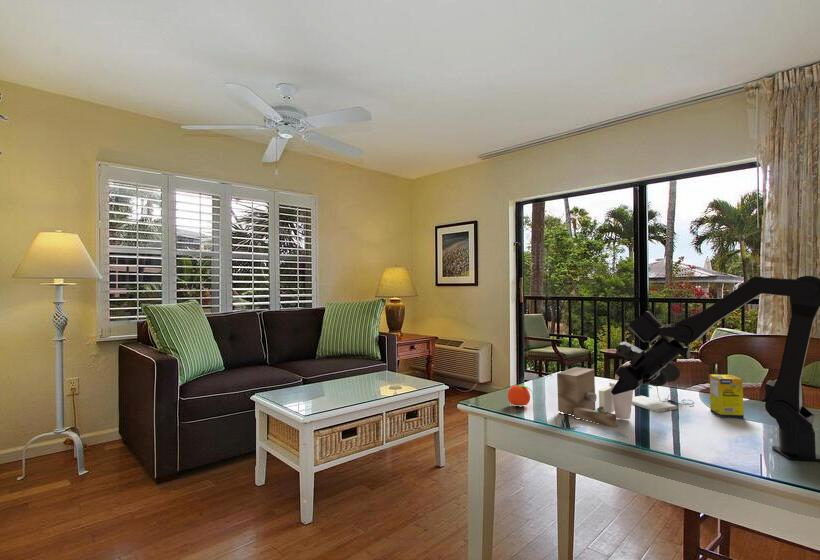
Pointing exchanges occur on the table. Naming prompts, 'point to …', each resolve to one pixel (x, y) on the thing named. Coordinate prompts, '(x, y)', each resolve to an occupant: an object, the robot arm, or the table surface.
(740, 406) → the supplement box
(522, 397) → the clementine
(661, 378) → the headphones
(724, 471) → the table surface
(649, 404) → the external hard drive
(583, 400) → the brown blocky piece
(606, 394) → the cream flat box
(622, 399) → the smoothie
